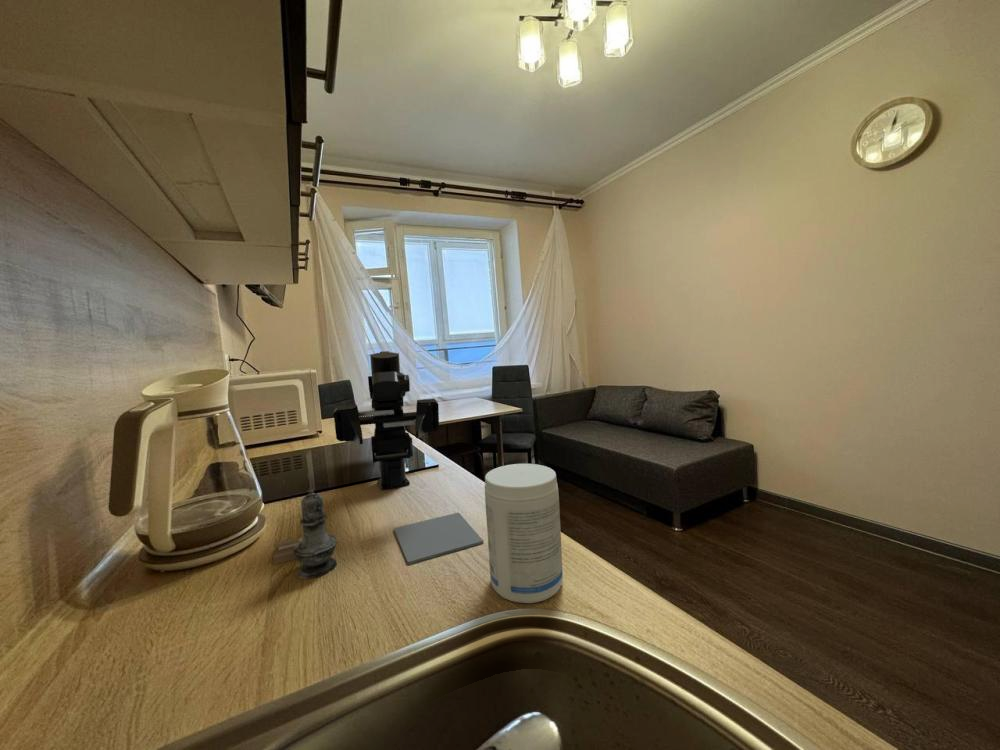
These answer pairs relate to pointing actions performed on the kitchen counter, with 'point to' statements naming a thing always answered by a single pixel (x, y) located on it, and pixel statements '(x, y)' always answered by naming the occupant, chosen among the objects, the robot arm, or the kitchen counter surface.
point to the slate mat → (436, 537)
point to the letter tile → (285, 550)
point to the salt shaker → (314, 540)
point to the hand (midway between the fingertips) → (389, 438)
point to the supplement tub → (524, 532)
